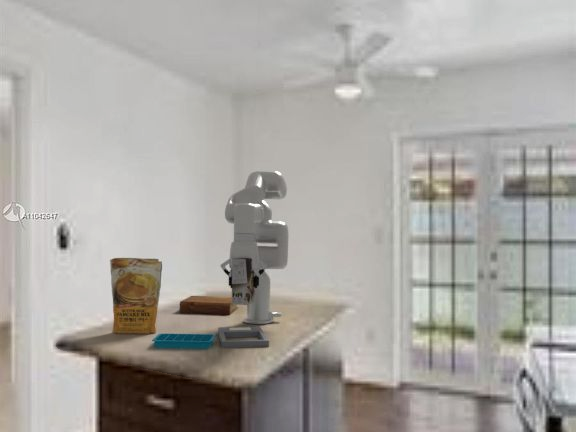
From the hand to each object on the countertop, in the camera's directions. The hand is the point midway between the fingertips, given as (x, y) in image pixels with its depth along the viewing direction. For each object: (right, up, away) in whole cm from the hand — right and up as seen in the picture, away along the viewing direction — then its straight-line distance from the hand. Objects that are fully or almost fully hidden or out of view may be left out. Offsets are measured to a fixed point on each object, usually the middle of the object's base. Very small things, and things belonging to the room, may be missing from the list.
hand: (243, 287), depth 207 cm
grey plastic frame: (-1, -19, +4) cm, 20 cm away
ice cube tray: (-20, -20, -6) cm, 29 cm away
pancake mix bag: (-42, -19, +13) cm, 48 cm away
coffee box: (0, -6, 0) cm, 6 cm away
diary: (-20, -19, +63) cm, 69 cm away
